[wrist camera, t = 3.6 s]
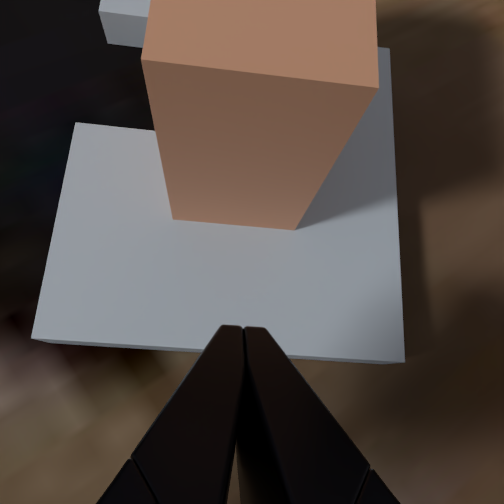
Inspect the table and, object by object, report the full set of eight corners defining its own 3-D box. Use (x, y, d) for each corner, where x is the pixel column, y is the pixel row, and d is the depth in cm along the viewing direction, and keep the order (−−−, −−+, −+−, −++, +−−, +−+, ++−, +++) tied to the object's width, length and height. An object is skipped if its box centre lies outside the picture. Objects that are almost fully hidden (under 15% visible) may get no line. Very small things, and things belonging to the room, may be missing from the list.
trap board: (384, 364, 18) (424, 360, 15) (50, 343, 17) (13, 333, 14) (367, -119, 27) (389, -188, 24) (146, -155, 26) (137, -233, 23)
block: (294, 230, 18) (379, 88, 9) (172, 219, 17) (141, 59, 9) (299, 36, 21) (367, -209, 12) (196, 22, 20) (189, -241, 12)
